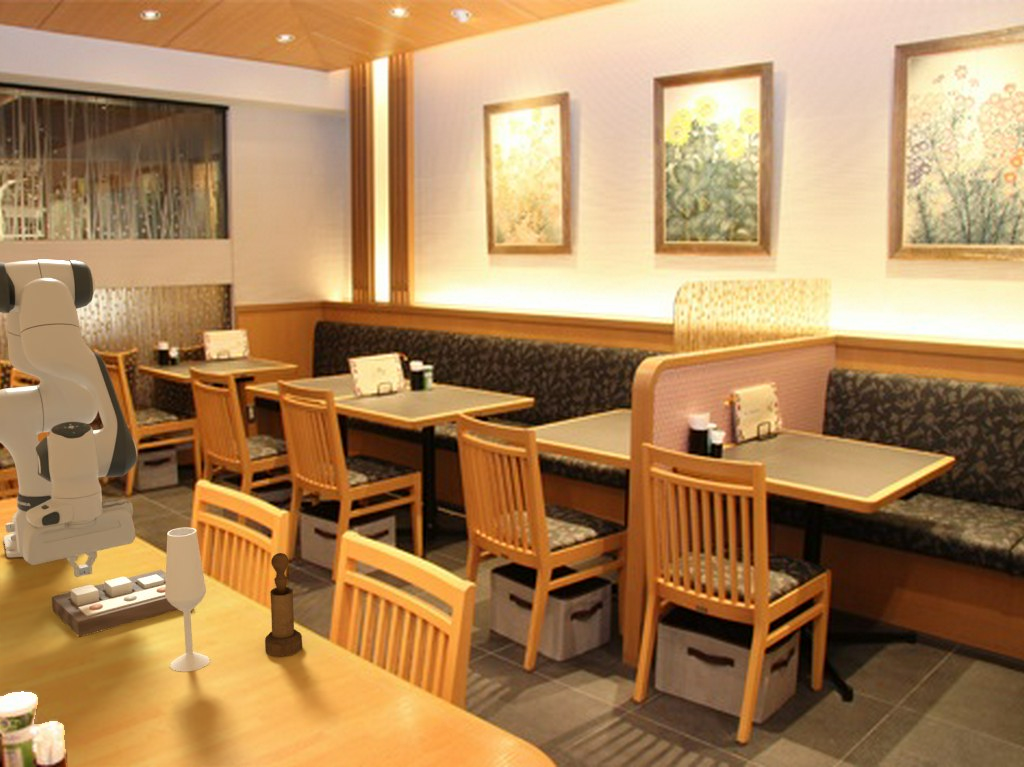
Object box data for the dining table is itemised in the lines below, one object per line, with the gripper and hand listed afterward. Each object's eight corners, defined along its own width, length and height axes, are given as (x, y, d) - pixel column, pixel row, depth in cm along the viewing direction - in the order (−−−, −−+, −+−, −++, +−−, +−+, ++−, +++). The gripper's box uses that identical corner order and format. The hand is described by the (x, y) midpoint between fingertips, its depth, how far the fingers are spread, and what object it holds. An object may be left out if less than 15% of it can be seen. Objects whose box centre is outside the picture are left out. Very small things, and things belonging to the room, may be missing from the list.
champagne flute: (196, 650, 173) (188, 523, 169) (217, 661, 169) (210, 531, 165) (162, 664, 168) (153, 532, 164) (183, 675, 164) (175, 541, 160)
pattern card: (78, 608, 184) (78, 606, 184) (170, 584, 196) (169, 582, 196) (87, 616, 181) (86, 614, 181) (180, 591, 192) (179, 589, 192)
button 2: (138, 592, 198) (137, 579, 197) (157, 587, 200) (156, 574, 200) (145, 598, 195) (144, 584, 194) (165, 593, 197) (164, 579, 197)
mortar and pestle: (297, 657, 170) (293, 560, 167) (261, 657, 171) (256, 560, 167) (305, 641, 177) (302, 547, 174) (271, 640, 177) (266, 547, 174)
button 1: (71, 603, 189) (70, 589, 188) (92, 598, 192) (91, 584, 191) (78, 610, 186) (77, 595, 186) (99, 604, 189) (98, 590, 188)
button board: (52, 610, 191) (51, 596, 190) (161, 582, 205) (160, 569, 205) (79, 636, 179) (78, 621, 178) (193, 605, 193) (192, 591, 193)
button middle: (105, 595, 193) (104, 581, 193) (125, 590, 196) (124, 576, 195) (112, 601, 190) (111, 586, 190) (132, 595, 193) (131, 581, 192)
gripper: (126, 493, 195) (130, 558, 197) (16, 513, 181) (23, 583, 183) (137, 499, 190) (142, 566, 192) (26, 521, 176) (32, 592, 179)
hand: (83, 574), depth 188 cm, fingers closed
